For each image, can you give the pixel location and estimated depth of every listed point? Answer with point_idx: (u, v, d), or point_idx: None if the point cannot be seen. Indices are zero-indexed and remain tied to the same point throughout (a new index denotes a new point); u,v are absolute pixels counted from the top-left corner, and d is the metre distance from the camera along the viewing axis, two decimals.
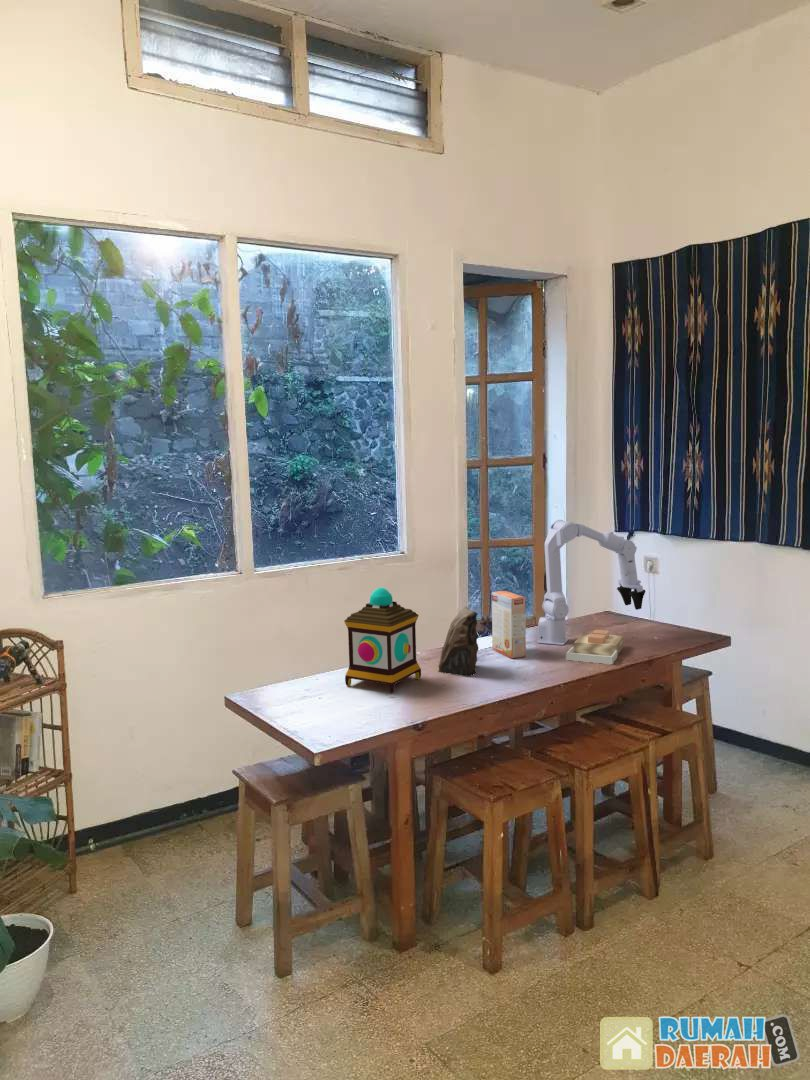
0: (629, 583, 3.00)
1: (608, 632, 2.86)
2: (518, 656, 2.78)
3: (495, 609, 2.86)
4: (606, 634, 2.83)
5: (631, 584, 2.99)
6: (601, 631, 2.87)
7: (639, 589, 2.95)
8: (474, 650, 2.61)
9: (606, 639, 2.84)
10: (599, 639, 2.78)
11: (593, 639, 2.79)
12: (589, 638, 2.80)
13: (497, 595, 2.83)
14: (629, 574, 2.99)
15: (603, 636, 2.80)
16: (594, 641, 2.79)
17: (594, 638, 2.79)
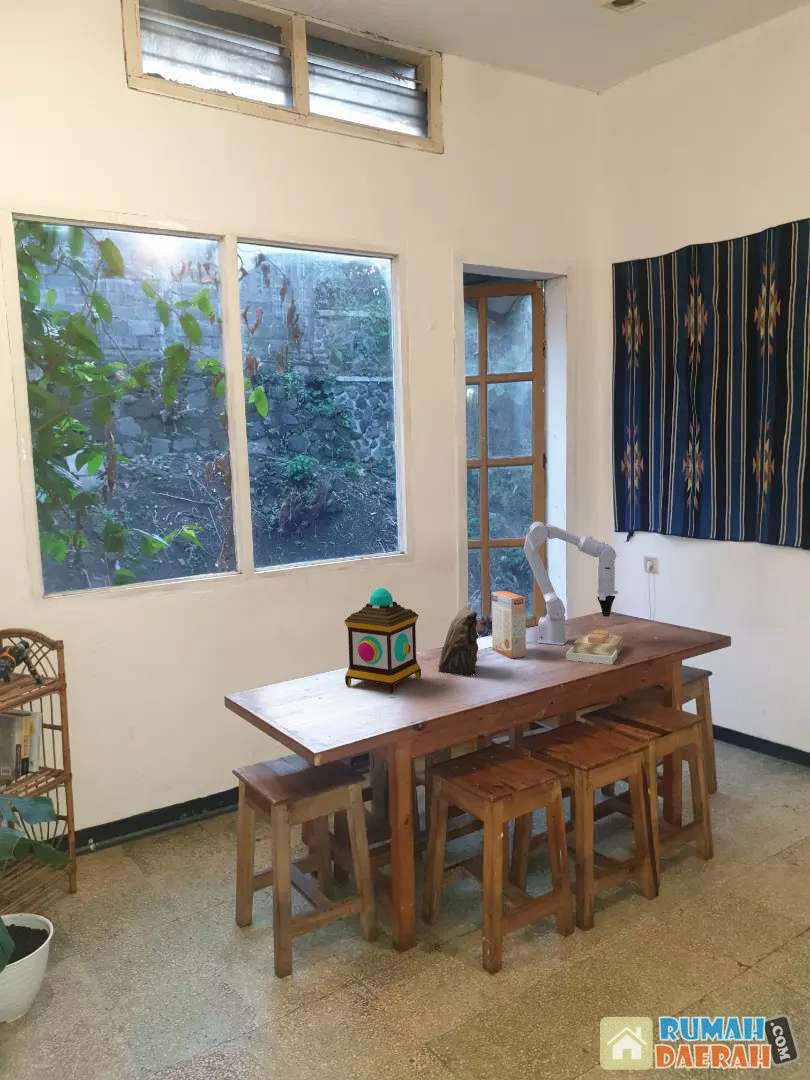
0: (600, 590, 2.92)
1: (608, 632, 2.86)
2: (518, 656, 2.78)
3: (495, 609, 2.86)
4: (606, 634, 2.83)
5: (602, 591, 2.91)
6: (601, 631, 2.87)
7: (601, 597, 2.87)
8: (474, 650, 2.61)
9: (606, 639, 2.84)
10: (599, 639, 2.78)
11: (593, 639, 2.79)
12: (589, 638, 2.80)
13: (497, 595, 2.83)
14: (601, 581, 2.91)
15: (603, 636, 2.80)
16: (594, 641, 2.79)
17: (594, 638, 2.79)
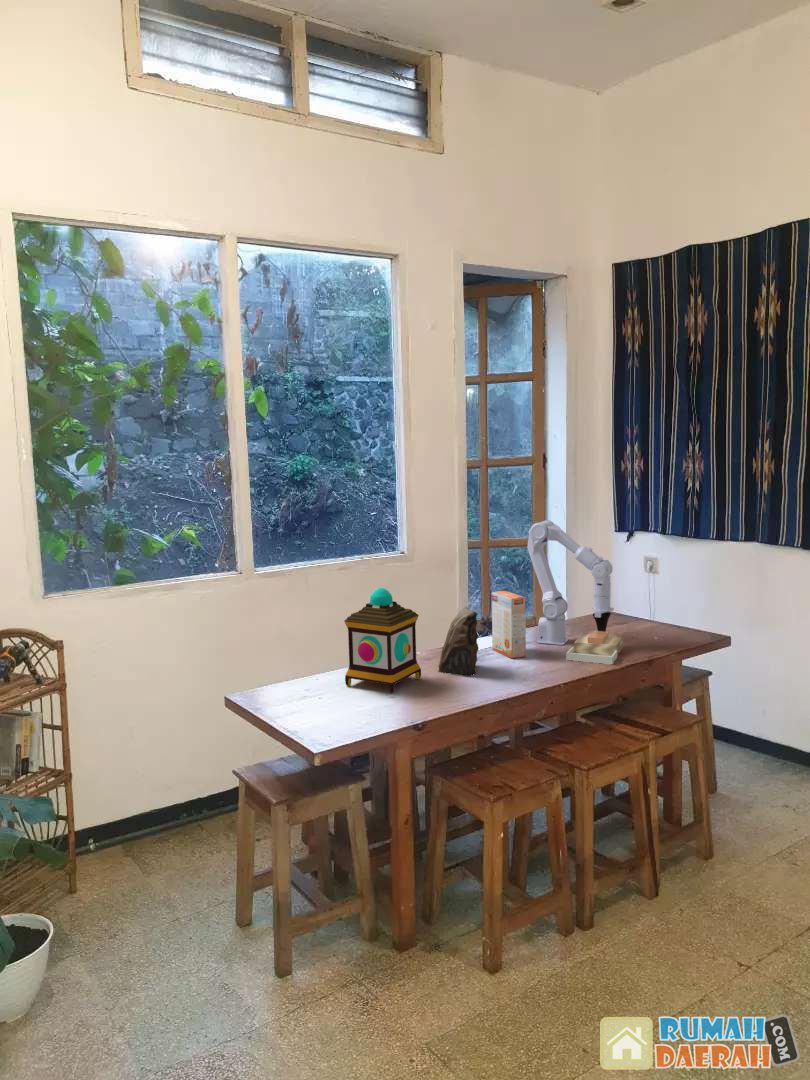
0: (596, 607, 2.85)
1: (607, 633, 2.85)
2: (518, 656, 2.78)
3: (495, 609, 2.86)
4: (605, 635, 2.82)
5: (597, 608, 2.85)
6: (600, 632, 2.86)
7: (596, 614, 2.81)
8: (474, 650, 2.61)
9: (605, 640, 2.82)
10: (599, 639, 2.78)
11: (593, 639, 2.79)
12: (589, 638, 2.79)
13: (497, 595, 2.83)
14: (597, 597, 2.85)
15: (603, 636, 2.80)
16: (594, 641, 2.79)
17: (594, 638, 2.79)
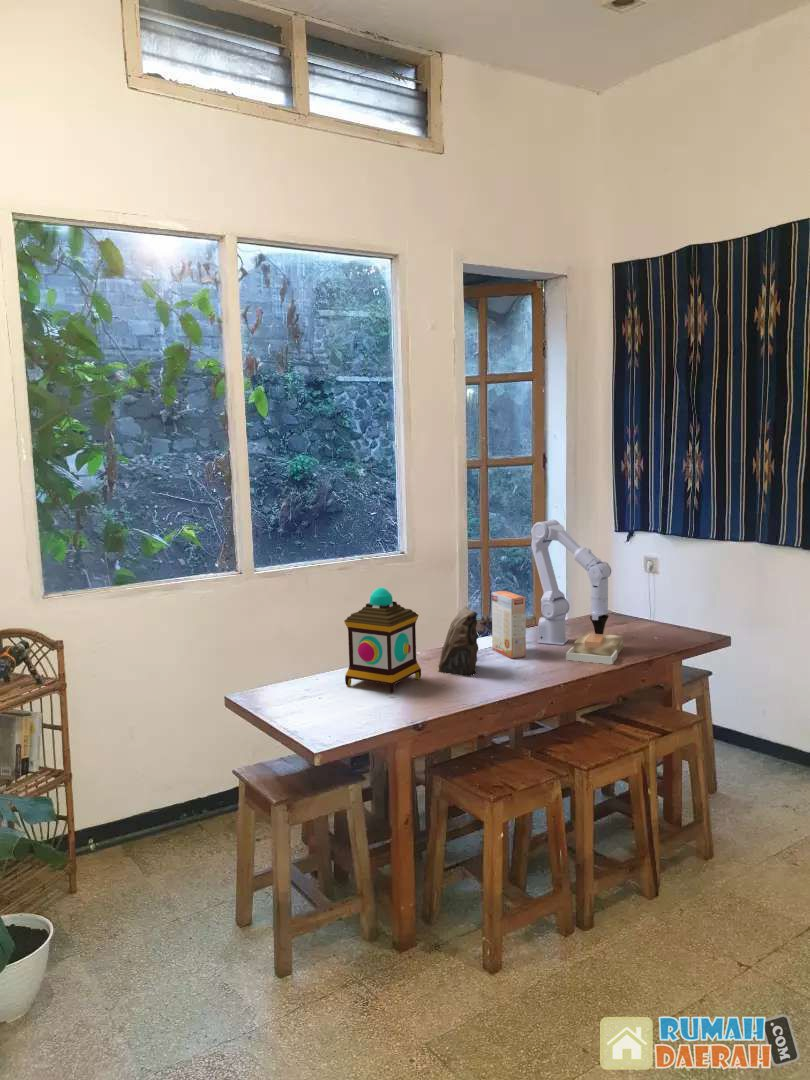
0: (593, 609, 2.82)
1: (605, 636, 2.81)
2: (518, 656, 2.78)
3: (495, 609, 2.86)
4: None
5: (595, 611, 2.81)
6: (597, 635, 2.82)
7: (593, 617, 2.77)
8: (474, 650, 2.61)
9: None
10: (596, 643, 2.74)
11: (590, 643, 2.75)
12: (585, 642, 2.75)
13: (497, 595, 2.83)
14: (594, 600, 2.81)
15: (600, 640, 2.76)
16: (591, 645, 2.75)
17: (591, 642, 2.75)
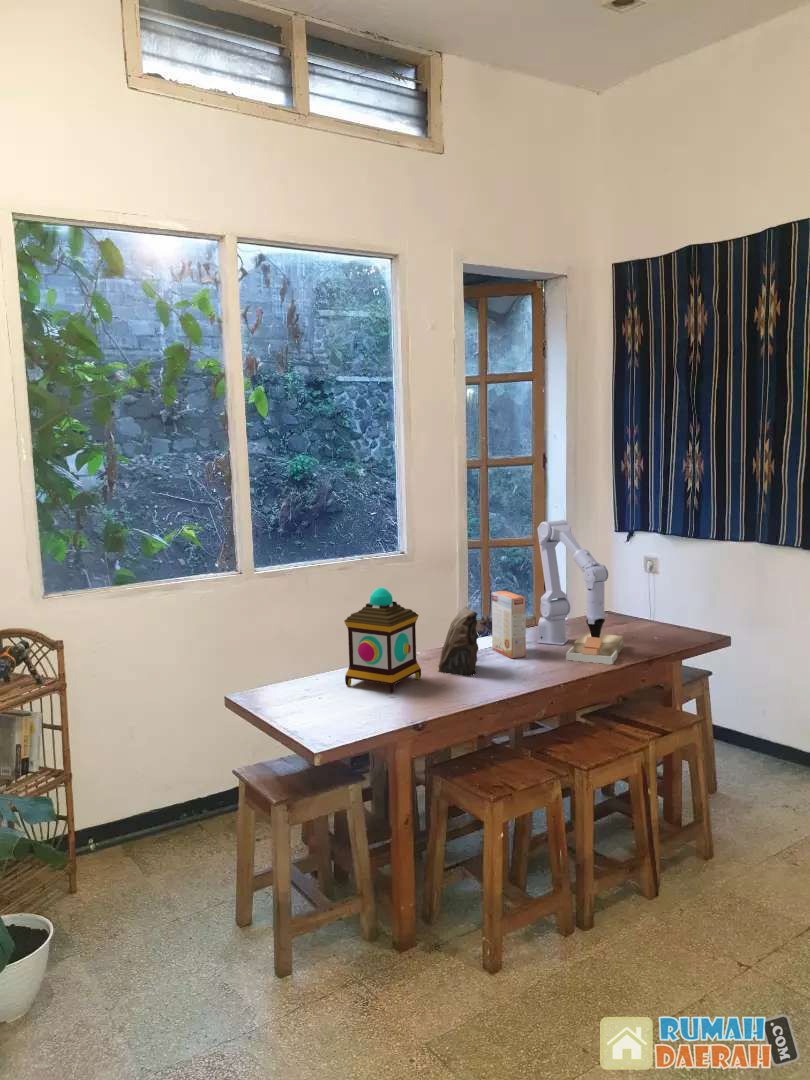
0: (589, 613, 2.76)
1: (601, 641, 2.76)
2: (518, 656, 2.78)
3: (495, 609, 2.86)
4: (599, 647, 2.73)
5: (591, 614, 2.76)
6: (593, 641, 2.76)
7: (589, 621, 2.72)
8: (474, 650, 2.61)
9: (599, 651, 2.74)
10: None
11: None
12: None
13: (497, 595, 2.83)
14: (590, 603, 2.75)
15: None
16: None
17: None
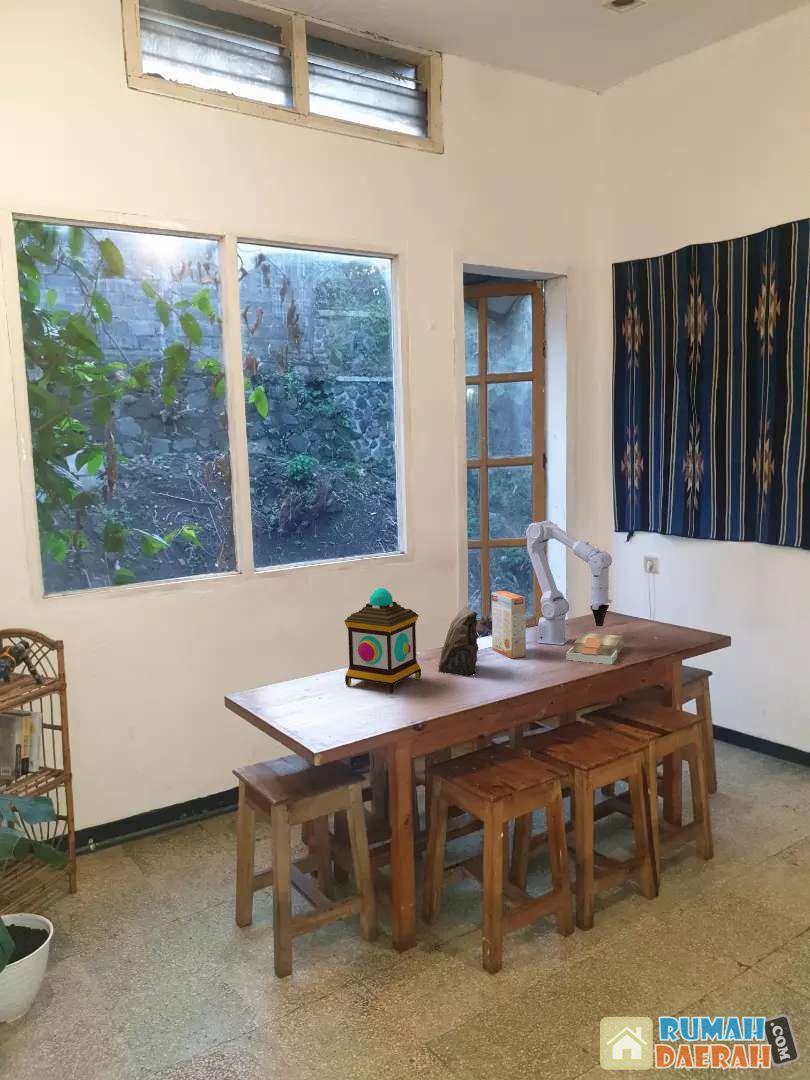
0: (593, 599, 2.82)
1: (601, 641, 2.76)
2: (518, 656, 2.78)
3: (495, 609, 2.86)
4: (599, 648, 2.73)
5: (595, 600, 2.82)
6: (593, 641, 2.76)
7: (593, 606, 2.77)
8: (474, 650, 2.61)
9: (599, 652, 2.74)
10: None
11: None
12: None
13: (497, 595, 2.83)
14: (595, 589, 2.81)
15: None
16: None
17: None
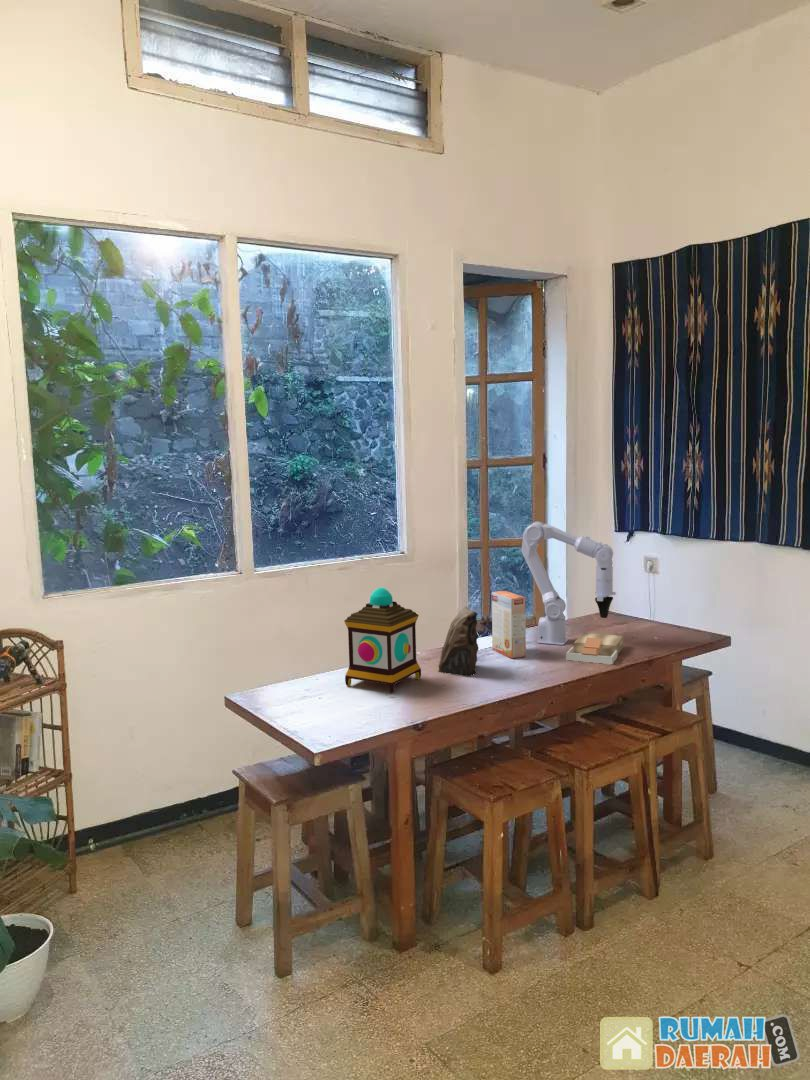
0: (598, 591, 2.88)
1: (601, 641, 2.76)
2: (518, 656, 2.78)
3: (495, 609, 2.86)
4: (599, 648, 2.73)
5: (599, 592, 2.88)
6: (593, 641, 2.76)
7: (598, 598, 2.83)
8: (474, 650, 2.61)
9: (599, 652, 2.74)
10: None
11: None
12: None
13: (497, 595, 2.83)
14: (599, 582, 2.87)
15: None
16: None
17: None
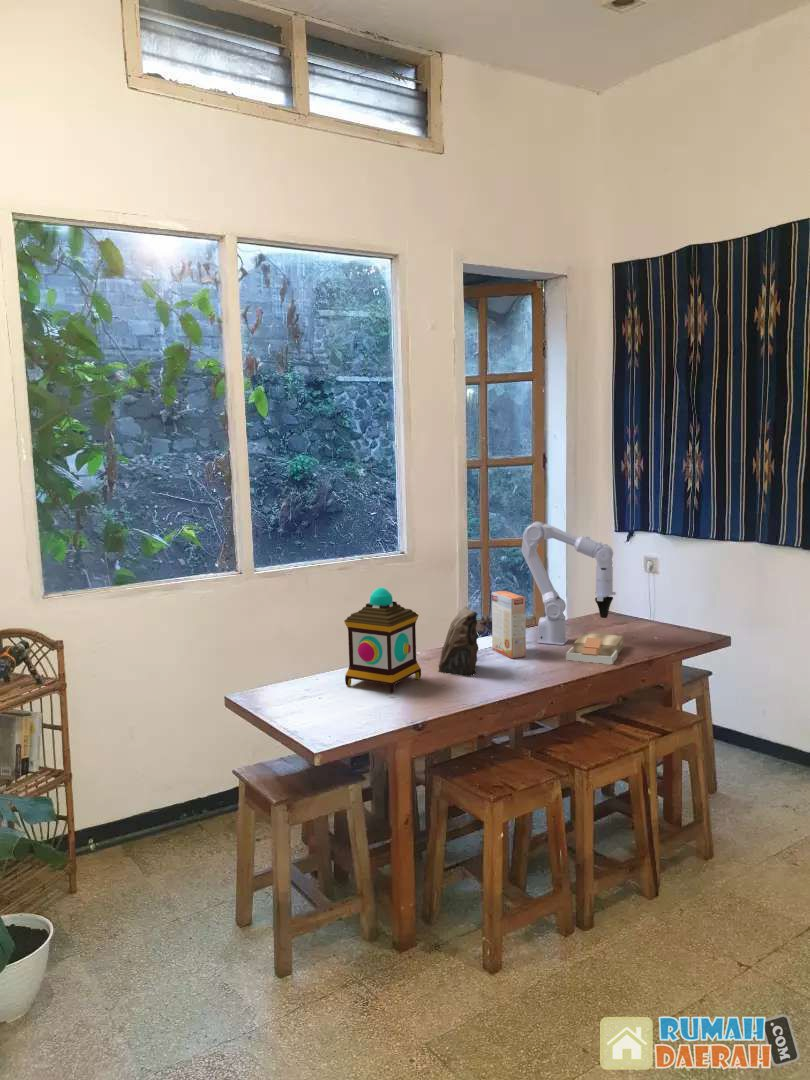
0: (598, 591, 2.88)
1: (601, 641, 2.76)
2: (518, 656, 2.78)
3: (495, 609, 2.86)
4: (599, 648, 2.73)
5: (599, 592, 2.88)
6: (593, 641, 2.76)
7: (598, 598, 2.83)
8: (474, 650, 2.61)
9: (599, 652, 2.74)
10: None
11: None
12: None
13: (497, 595, 2.83)
14: (599, 582, 2.87)
15: None
16: None
17: None
